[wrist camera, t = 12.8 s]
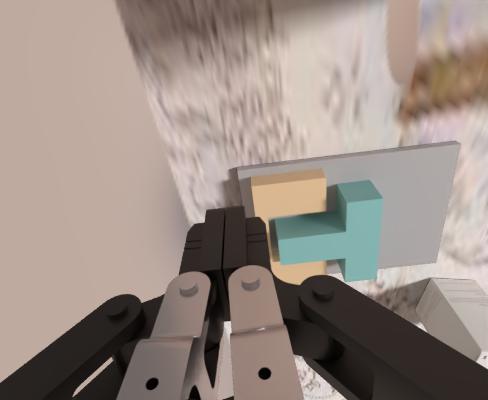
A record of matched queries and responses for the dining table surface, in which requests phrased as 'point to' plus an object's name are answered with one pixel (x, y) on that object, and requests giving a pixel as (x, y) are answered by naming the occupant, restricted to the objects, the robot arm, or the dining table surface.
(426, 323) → the supplement box
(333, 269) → the slot board
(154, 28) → the dining table surface
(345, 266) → the tee block
